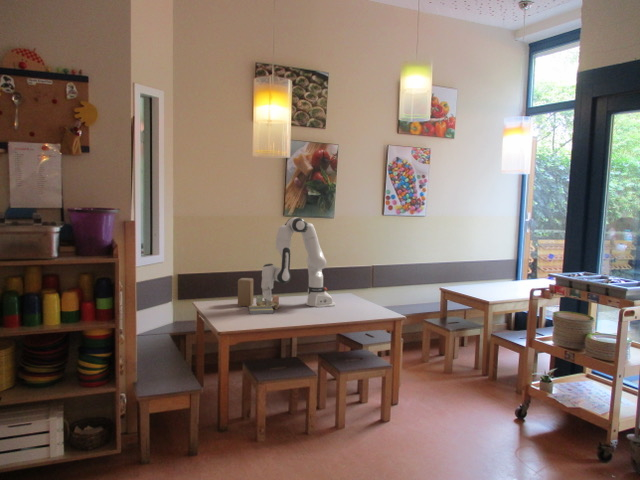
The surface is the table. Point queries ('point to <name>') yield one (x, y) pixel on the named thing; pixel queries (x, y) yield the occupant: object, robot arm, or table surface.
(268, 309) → the dock
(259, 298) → the cargo
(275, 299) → the cargo
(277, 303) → the pallet
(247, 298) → the wooden block
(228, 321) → the table surface
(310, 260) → the robot arm
